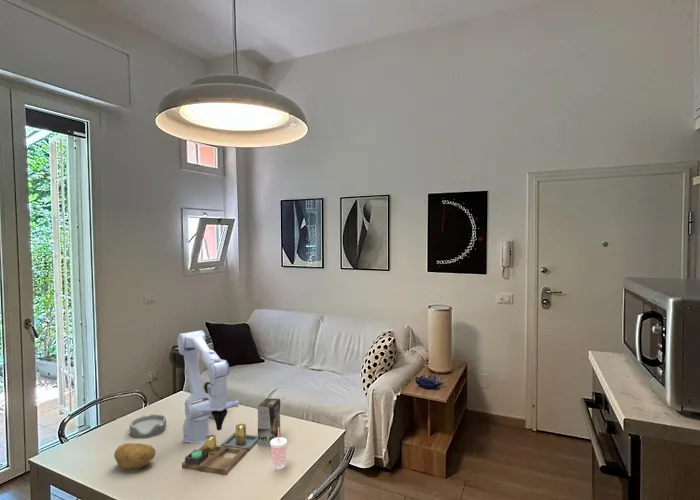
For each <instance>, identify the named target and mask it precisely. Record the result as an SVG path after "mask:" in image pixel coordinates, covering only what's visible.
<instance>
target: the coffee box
mask: <svg viewBox="0 0 700 500" xmlns="http://www.w3.org/2000/svg"><path fill="white" fill-rule="evenodd" d="M278 427H279V437H281V399H280V398H268V397H266V398H265V399H264V400H263V401H262V402H261V403H260V404H258V406H257V436H258V442H257V446H262V447H270V448H271V445H270V441H271V440H272V439H273V438H276V437H278Z"/></svg>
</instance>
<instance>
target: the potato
mask: <svg viewBox="0 0 700 500" xmlns="http://www.w3.org/2000/svg"><path fill="white" fill-rule="evenodd" d="M156 453H157V451H156V449H155V448H154V446H152V445H150V444H145V443H133V442H130V443H129V442H128V443H123V444H121V445H119V446H118V447H117V448H116V450H115V452H114V454H113V455H114V460H115V462H116V463H117V465H118V466H120V467H121V468H124V469H128V470H136V469H139V468H143V467H145V466H146V465H148V464H149V463H150V462H151V461H152V460H153V459H154V458H155V456H156Z"/></svg>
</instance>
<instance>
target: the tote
mask: <svg viewBox="0 0 700 500" xmlns="http://www.w3.org/2000/svg"><path fill="white" fill-rule="evenodd" d="M257 444H258V435H254V434H247V433H246V444H245V445H242V446H237V445H236V432H233V433H232V434H231V435H230V436H229V437H228V438H226V439H225V440H224V441H223V442H222V443H221V444H220V446H226V447H234V448H241V449H247V453H249V451H251V450H252V448H254V447H255V445H257Z"/></svg>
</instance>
